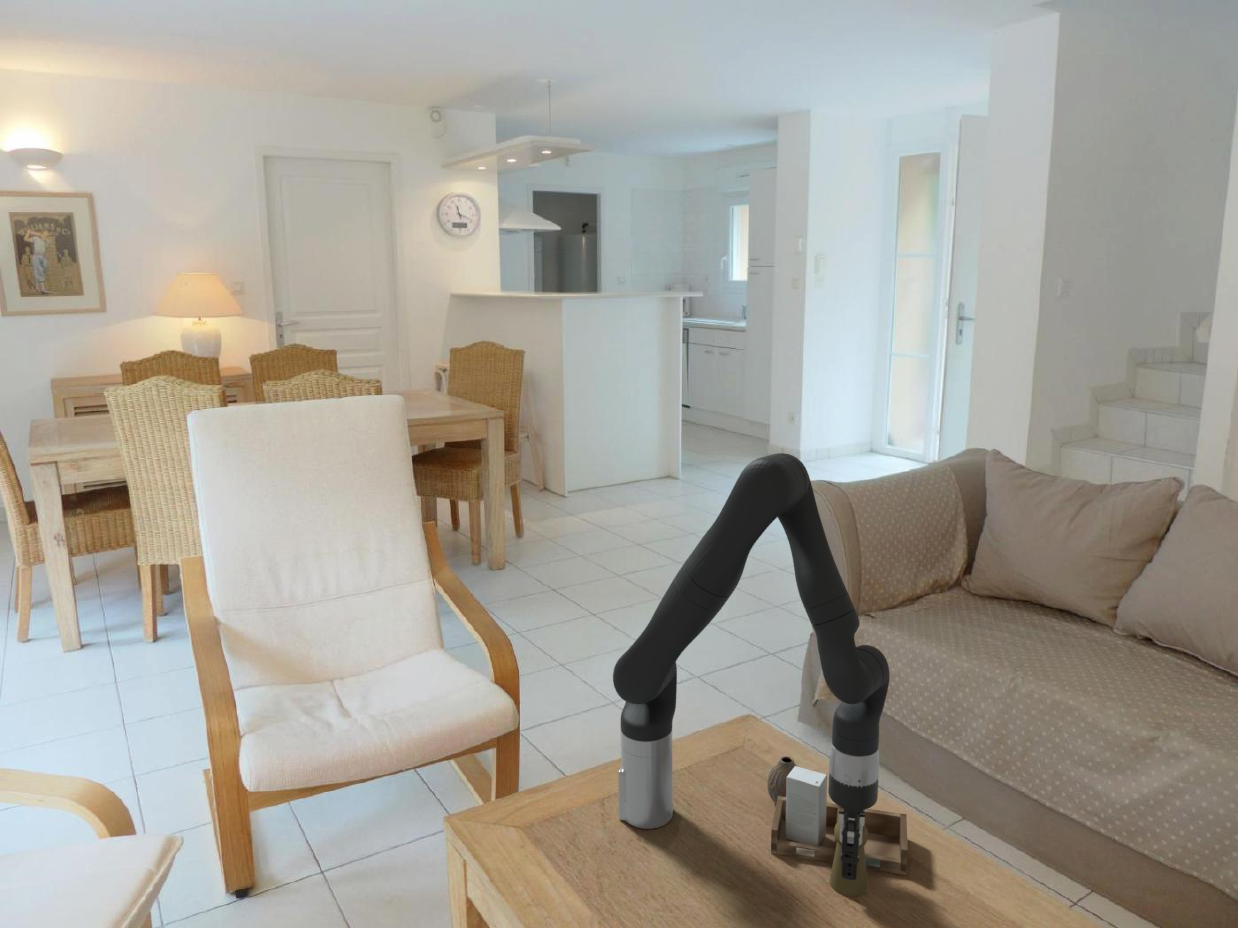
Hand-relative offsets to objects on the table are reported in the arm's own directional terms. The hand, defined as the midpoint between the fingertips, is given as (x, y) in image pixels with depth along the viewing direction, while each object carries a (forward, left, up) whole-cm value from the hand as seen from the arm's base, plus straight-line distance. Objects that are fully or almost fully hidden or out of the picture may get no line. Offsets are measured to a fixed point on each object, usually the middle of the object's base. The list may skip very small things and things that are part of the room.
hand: (849, 863), depth 145 cm
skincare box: (-8, +9, -3) cm, 13 cm away
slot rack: (-2, +10, -4) cm, 10 cm away
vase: (-12, +20, -4) cm, 24 cm away
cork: (0, 0, -4) cm, 4 cm away
